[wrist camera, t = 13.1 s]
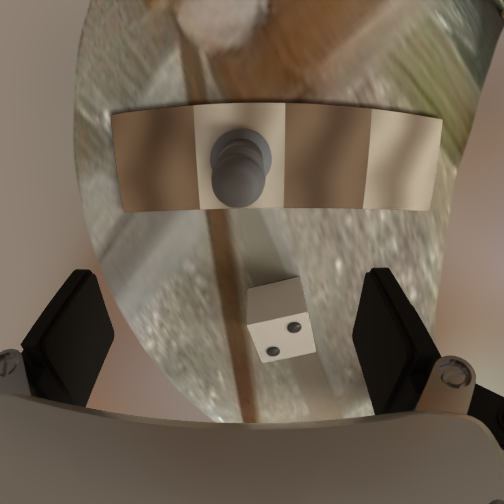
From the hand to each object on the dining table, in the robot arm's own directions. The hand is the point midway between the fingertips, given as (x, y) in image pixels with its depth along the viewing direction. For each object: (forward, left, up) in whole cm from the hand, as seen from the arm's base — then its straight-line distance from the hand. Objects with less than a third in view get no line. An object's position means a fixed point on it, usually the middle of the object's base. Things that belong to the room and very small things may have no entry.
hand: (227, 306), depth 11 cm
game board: (-4, 0, -21) cm, 21 cm away
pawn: (0, 0, -20) cm, 20 cm away
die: (-4, +17, -21) cm, 27 cm away
